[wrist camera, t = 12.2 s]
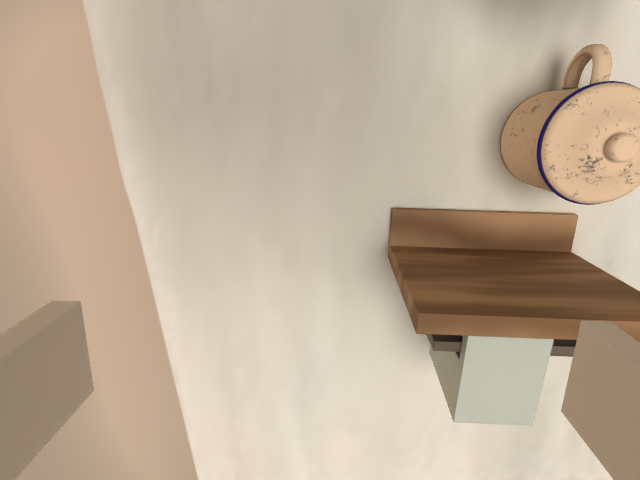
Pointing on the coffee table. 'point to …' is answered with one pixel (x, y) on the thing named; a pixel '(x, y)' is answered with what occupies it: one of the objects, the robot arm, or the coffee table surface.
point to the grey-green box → (493, 378)
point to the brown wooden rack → (502, 278)
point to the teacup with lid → (578, 135)
